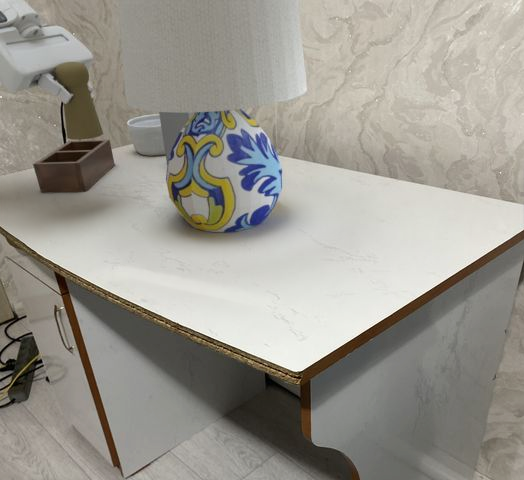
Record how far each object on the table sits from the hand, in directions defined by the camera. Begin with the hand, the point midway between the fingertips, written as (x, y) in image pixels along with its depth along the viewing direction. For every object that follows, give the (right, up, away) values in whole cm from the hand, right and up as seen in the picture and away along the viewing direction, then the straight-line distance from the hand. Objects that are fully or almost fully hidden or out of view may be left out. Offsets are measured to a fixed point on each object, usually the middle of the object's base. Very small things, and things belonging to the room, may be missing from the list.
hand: (80, 96), depth 88 cm
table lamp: (+24, -19, +4) cm, 31 cm away
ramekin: (+5, +7, +43) cm, 44 cm away
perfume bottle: (+13, 0, +32) cm, 34 cm away
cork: (0, -5, +4) cm, 6 cm away
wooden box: (-9, -4, +28) cm, 29 cm away
